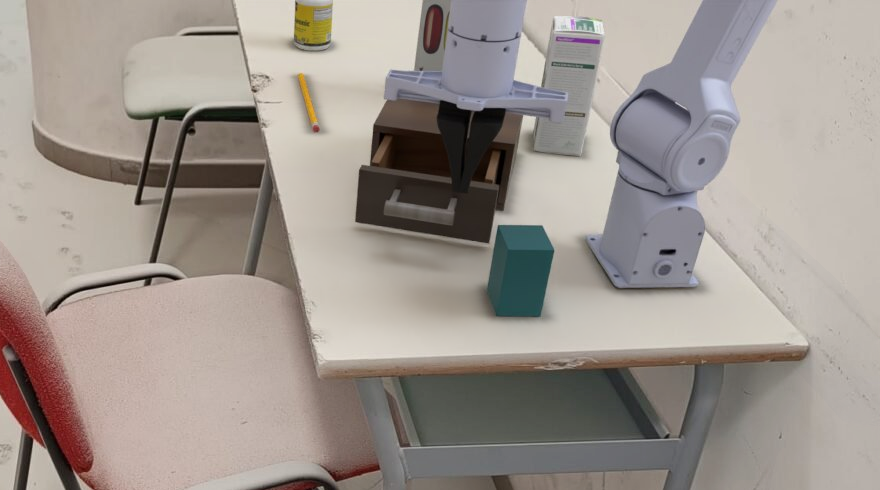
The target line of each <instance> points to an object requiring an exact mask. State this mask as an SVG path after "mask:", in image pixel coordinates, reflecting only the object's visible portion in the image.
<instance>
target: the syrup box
mask: <svg viewBox="0 0 880 490" xmlns="http://www.w3.org/2000/svg"><path fill="white" fill-rule="evenodd" d="M603 23H604V22H603V20H602V19H599V18H593V17H588V16H575V15H553V17H552V21H551V28H550V33H549V37H548V43H547V49H546V55H545V60H544V66H543V67H544V68H543V72H542V78H541V85H540V87H543V88H547V89H551V90H556V91H563V92H568V100H567V105H566V110H565V115H564V120H563V123H555V122H550V121H549V118H541V117H535V120H534V125H533V132H532V138H533V139H532V142H533V143H532V144H533V145H532V147H533V148H532V149H533V151H536V152H540V153H547V154H554V155H565V156H577V157H581V156H582V153H583V148H584V143H585V139H586V133H587V129H588V126H589V119H590V115H591V110H592V106H593V105H592V104H593V99H594V96H595V95H594V94H595V89H596V84H597V79H598V73H599V68H600V62H601V56H602V53H603V48H604V42H605V38H606V37H605V36H606V35H605V30H604V24H603Z"/></svg>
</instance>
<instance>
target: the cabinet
mask: <svg viewBox="0 0 880 490" xmlns="http://www.w3.org/2000/svg"><path fill="white" fill-rule="evenodd" d="M438 110H439V104H438V103H430V102H423V101H415V100H408V99H401V98H398V99H397V100H395V101H393V100H385V103H384V105H383V106H382V107H381V110H380V112H379V113H378V114H377V115H378V116H377V117H376V118H375V121H374V122H373V125H372V134H371V135H372V136H371V146H370V158H369V159H370V160H369V166H371V162H372V160H373V158H374V156H375V154H376V152H377V150H378V148H379V146H380V144H381V142H382V141H383V139H384V137H385V135H386V133H388V134H395V135H402V136H410V137H417V138H424V139H431V140H438V141H443V138H442V135H441V133H440V131H439V128H438V125H437V114H438ZM474 112H475V111H473V110H472V113H471V119H470V124H469V130H468V136H467V142H466V145H468V142H469V133H470V125H471V120H472V117H473V114H474ZM523 120H524V115H519V114H512V113H506V114H505V118H504V121H503V125H502V128H501V130H500V131H499V133H498V135H497V136H496V137H495V139H494V140H493V141H492V143H491V144H490V146H489V147H488V148H495V149H502V156H501V162H500V168H499V174H498V180H497V184H496V185H499V190H498V196H497V202H496V208H495V211H500V212H501V211H502V212H504V211H505V206H506V202H507V198H508V193H509V188H510V185H511V181H512V176H513V171H514V167H515V163H516V158H517V154H518V147H519V143H520V137H521V131H522V125H523Z"/></svg>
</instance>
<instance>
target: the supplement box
mask: <svg viewBox="0 0 880 490" xmlns="http://www.w3.org/2000/svg"><path fill="white" fill-rule="evenodd" d="M450 5H451V0H422V2H421V10H420V19H419V26H418V35H417V43H416V49H415V50H416V51H415V59H414V67H413V71H442V69H443V61H444V53H445V45H446V38H447V30H448V21H449V13H450Z"/></svg>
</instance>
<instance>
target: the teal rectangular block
mask: <svg viewBox="0 0 880 490" xmlns="http://www.w3.org/2000/svg"><path fill="white" fill-rule="evenodd" d="M494 238H495V239H494V245H493V251H492V256H491V262H490V268H489V274H488V280H487V285H486V291H487V295H488V297H489V300H490V303H491V305H492V309H493V311H494V314H495V316H496V317H542V311H543V307H544V303H545V297H546V293H547V288H548V284H549V279H550V274H551V269H552V264H553V260H554V256H555V255H554V254H555V247H554V246H553V244H552V242H551V240H550V238H549V236H548V234H547V232H546V230H545V228H544V226H543V224H542V225H541V224H498V225H497V227H496V233H495V237H494Z"/></svg>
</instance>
